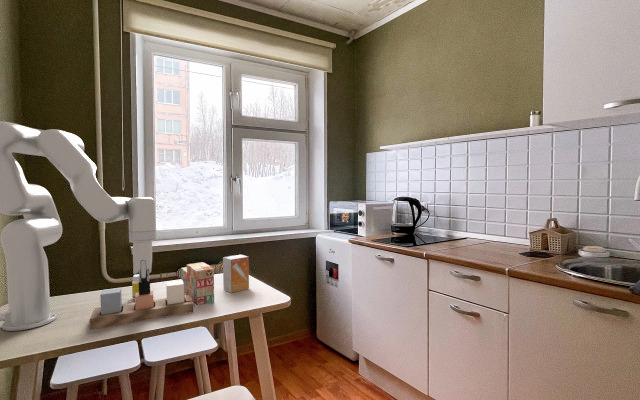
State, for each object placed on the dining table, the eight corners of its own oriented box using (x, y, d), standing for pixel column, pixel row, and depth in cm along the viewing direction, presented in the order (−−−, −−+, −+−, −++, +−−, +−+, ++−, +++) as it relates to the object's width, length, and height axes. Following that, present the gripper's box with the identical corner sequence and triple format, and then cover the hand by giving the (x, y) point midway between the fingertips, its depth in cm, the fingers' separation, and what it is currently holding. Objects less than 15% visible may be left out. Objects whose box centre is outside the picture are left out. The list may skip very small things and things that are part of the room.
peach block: (135, 316, 105) (135, 297, 105) (136, 311, 109) (135, 292, 109) (153, 313, 107) (153, 294, 107) (153, 308, 112) (153, 290, 111)
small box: (231, 293, 129) (230, 259, 129) (223, 289, 134) (222, 257, 134) (249, 288, 135) (249, 256, 135) (241, 285, 140) (240, 254, 139)
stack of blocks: (181, 291, 134) (180, 260, 133) (197, 288, 137) (196, 257, 137) (196, 306, 116) (195, 270, 116) (214, 302, 120) (213, 267, 119)
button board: (90, 329, 98) (89, 317, 97) (95, 317, 106) (94, 306, 106) (193, 312, 110) (193, 301, 110) (190, 303, 119) (190, 293, 119)
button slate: (101, 314, 101) (100, 294, 101) (103, 309, 105) (102, 290, 105) (120, 311, 103) (119, 292, 103) (121, 306, 107) (121, 287, 107)
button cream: (167, 304, 109) (166, 286, 109) (166, 300, 113) (166, 282, 113) (184, 302, 111) (183, 283, 111) (182, 297, 115) (182, 280, 115)
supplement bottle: (140, 300, 123) (140, 277, 123) (129, 299, 124) (128, 276, 124) (149, 296, 128) (149, 273, 127) (138, 295, 129) (138, 273, 128)
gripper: (130, 234, 112) (132, 289, 113) (127, 240, 99) (129, 302, 100) (155, 232, 116) (157, 286, 116) (156, 238, 102) (158, 298, 103)
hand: (144, 293), depth 108 cm, fingers closed
